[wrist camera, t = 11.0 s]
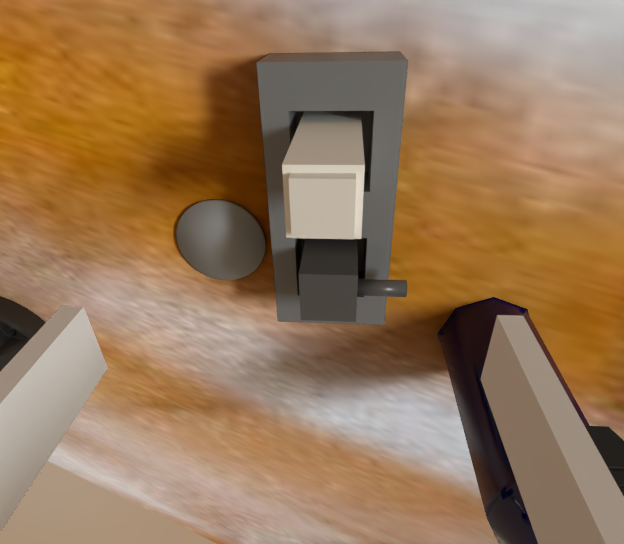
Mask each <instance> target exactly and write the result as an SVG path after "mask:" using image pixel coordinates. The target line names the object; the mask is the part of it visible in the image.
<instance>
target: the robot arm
mask: <svg viewBox="0 0 624 544" xmlns="http://www.w3.org/2000/svg"><path fill="white" fill-rule="evenodd" d="M107 368H108V367H107V365H106V362H105V360H104V357H103V355H102V352H101V350H100V347H99V345H98V342H97V339H96V337H95V334H94V332H93V329H92V327H91V324H90V322H89V319H88V317H87V314H86V312H85V309H84V307H68V306H61V307H60V308H59V309H58V310H57V311H56V312H55V314H54V315H53V316H52V317H51V318H50V319H49V320H48V321H47V322H46V323H45V322H44V321H43V320H42V319H41V318H39V317H38V316H37V315H35V314H34V313H32V312H31V311H29V310H27V309H26V308H24V307H22V306H20V305H18V304H16V303H14V302H12V301H9V300H7V299H4V298H1V297H0V533H1V531H2V530H3V528H4V527H5V525H6V523H7V522H8V520H9V519H10V517H11V516H12V514H13V513H14V511H15V510H16V508H17V507H18V505H19V503H20V502H21V500H22V499H23V497H24V496H25V494H26V492H27V491H28V490H29V488H30V487H31V485H32V483H33V482H34V480H35V479H36V477H37V476H38V474H39V472H40V471H41V469H42V468H43V466H44V465H45V463H46V462H47V460H48V459H49V457H50V456H51V454H52V453H53V451H54V450H55V448H56V447H57V445H58V443H59V442H60V440H61V439H62V437H63V436H64V434H65V433H66V431H67V430H68V428H69V427H70V425H71V423H72V422H73V420H74V419H75V417H76V416H77V414H78V413H79V411H80V410H81V408H82V407H83V405H84V403H85V402H86V400H87V399H88V397H89V396H90V394H91V393H92V391H93V390H94V388H95V387H96V385H97V383H98V382H99V380H100V379H101V377H102V376H103V374H104V373H105V371H106V370H107ZM481 382H482V385H483V388H484V391H485V394H486V397H487V399H488V402H489V405H490V408H491V411H492V414H493V417H494V419H495V422H496V425H497V428H498V431H499V434H500V436H501V439H502V442H503V445H504V448H505V451H506V454H507V456H508V459H509V462H510V465H511V468H512V471H513V474H514V476H515V479H516V482H517V485H518V488H519V491H520V494H521V496H522V499H523V502H524V505H525V508H526V511H527V514H528V516H529V519H530V522H531V525H532V528H533V531H534V534H535V536H536V539H537V542H538V544H624V441H623V440H622V439H621V438H620V437H619V436H618V435H617V434H616V433H615V432H614V431H612V430H611V429H610V428H609V427H602V426H584V424H583V422H582V421H581V419H580V417H579V415H578V413H577V412H576V410H575V408H574V406H573V404H572V403H571V401H570V399H569V397H568V395H567V394H566V392H565V390H564V388H563V386H562V385H561V383H560V381H559V379H558V377H557V376H556V374H555V372H554V370H553V368H552V367H551V365H550V363H549V361H548V359H547V358H546V356H545V354H544V352H543V350H542V349H541V347H540V345H539V343H538V341H537V340H536V338H535V336H534V334H533V332H532V331H531V329H530V327H529V325H528V323H527V322H526V320H525V318H524V316H517V315H497V318H496V321H495V325H494V329H493V333H492V337H491V341H490V345H489V348H488V352H487V356H486V360H485V364H484V368H483V371H482V375H481Z"/></svg>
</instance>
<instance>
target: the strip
mask: <svg viewBox="0 0 624 544" xmlns="http://www.w3.org/2000/svg"><path fill="white" fill-rule="evenodd" d="M407 67H408V60H407V59H406V58H405V56H404V55H403V54H402V53H401V52H400V51H399V52H333V53H270V54H268V55H267V56H265V57H264V58H262V59H261V60H259V61H258V62H257V75H258V87H259V99H260V112H261V124H262V136H263V148H264V160H265V172H266V184H267V196H268V208H269V221H270V233H271V245H272V257H273V269H274V281H275V293H276V305H277V318H278V321H281V322H310V323H340V324H369V325H384V320H385V309H386V298H387V296H389V297H406V294H407V281H406V280H388V276H389V265H390V254H391V243H392V232H393V221H394V210H395V199H396V188H397V177H398V166H399V155H400V144H401V133H402V122H403V111H404V100H405V89H406V78H407ZM304 111H361V122H362V135H363V148H364V161H365V173H364V194H363V215H362V236H361V239H309V238H286V224H285V207H284V191H283V174H282V163H283V161H284V158H285V156H286V154H287V151H288V149H289V147H290V144H291V142H292V139H293V137H294V135H295V132H296V130H297V127H298V125H299V123H300V120H301V118H302V115H303V113H304Z"/></svg>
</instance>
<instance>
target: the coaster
mask: <svg viewBox="0 0 624 544" xmlns="http://www.w3.org/2000/svg"><path fill="white" fill-rule="evenodd" d="M176 238H177V243H178V247H179V249H180V252H181V253H182V255H183V257H184V258H185V259H186V261H187V262H188V263H189V264H190V265H191V266H192V267H193V268H195V269H196V270H197V271H199V272H201V273H202V274H204V275H206V276H209V277H212V278H215V279H220V280H235V279H240V278H243V277H245V276H247V275H249V274H251V273H252V272H253V271H255V270H256V269H257V268H258V266H259V265H260V263H261V262H262V260H263V257H264V254H265V249H266V240H265V235H264V232H263V230H262V227H261V225H260V224H259V222H258V221H257V220H256V218H255V217H254V216H253V215H252V214H251V213H250V212H249V211H247V210H246V209H245V208H243V207H241V206H240V205H237V204H235V203H233V202H230V201H226V200H219V199H210V200H204V201H201V202H198V203H196V204H194V205H193V206H191V207H190V208H189V209H188V210H186V211H185V213H184V214H183V215H182V217H181V218H180V220H179V222H178V226H177V231H176Z"/></svg>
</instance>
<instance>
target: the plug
mask: <svg viewBox="0 0 624 544" xmlns="http://www.w3.org/2000/svg"><path fill="white" fill-rule="evenodd" d="M364 173H365V161H364V148H363V135H362V122H361V111H304V113H303V115H302V118H301V120H300V123H299V125H298V127H297V130H296V132H295V135H294V137H293V139H292V142H291V144H290V147H289V149H288V151H287V154H286V156H285V158H284V161H283V163H282V174H283V191H284V207H285V224H286V238H309V239H361V236H362V215H363V194H364Z"/></svg>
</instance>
